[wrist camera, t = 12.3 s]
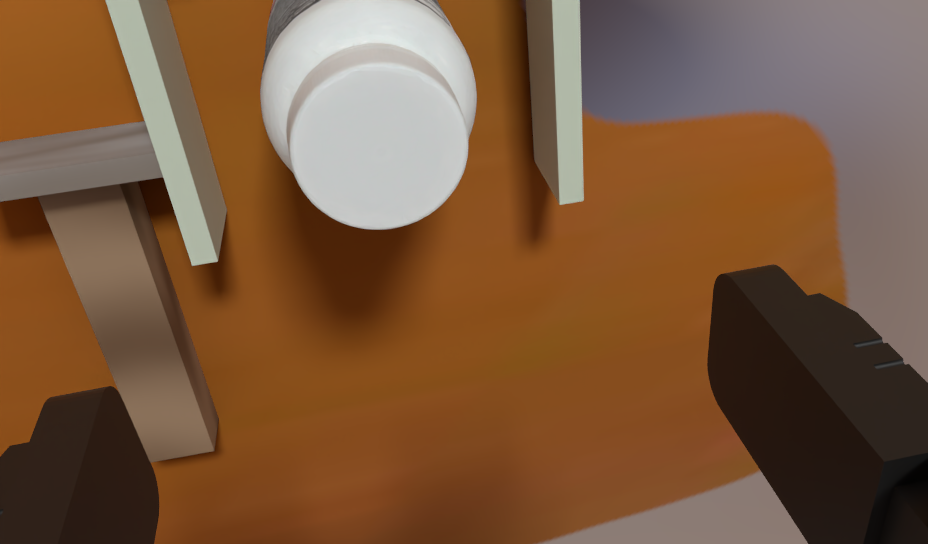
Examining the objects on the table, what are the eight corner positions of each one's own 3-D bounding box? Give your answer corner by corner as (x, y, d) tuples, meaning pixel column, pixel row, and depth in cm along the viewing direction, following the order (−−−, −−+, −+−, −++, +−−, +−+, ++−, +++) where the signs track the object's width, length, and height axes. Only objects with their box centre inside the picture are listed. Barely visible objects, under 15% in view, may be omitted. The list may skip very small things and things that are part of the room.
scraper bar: (-16, 142, 26) (-51, 183, 24) (174, 115, 27) (160, 152, 24) (112, 435, 33) (96, 490, 31) (262, 408, 34) (258, 461, 31)
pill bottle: (306, 130, 28) (307, 285, 19) (241, -29, 25) (209, 75, 16) (459, 81, 28) (524, 216, 19) (412, -84, 25) (465, -9, 16)
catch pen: (86, -168, 22) (54, -158, 19) (541, -223, 23) (575, -220, 20) (203, 214, 28) (192, 265, 26) (555, 157, 30) (583, 200, 27)
